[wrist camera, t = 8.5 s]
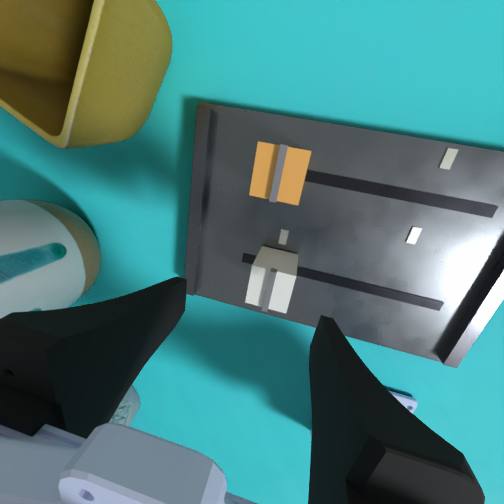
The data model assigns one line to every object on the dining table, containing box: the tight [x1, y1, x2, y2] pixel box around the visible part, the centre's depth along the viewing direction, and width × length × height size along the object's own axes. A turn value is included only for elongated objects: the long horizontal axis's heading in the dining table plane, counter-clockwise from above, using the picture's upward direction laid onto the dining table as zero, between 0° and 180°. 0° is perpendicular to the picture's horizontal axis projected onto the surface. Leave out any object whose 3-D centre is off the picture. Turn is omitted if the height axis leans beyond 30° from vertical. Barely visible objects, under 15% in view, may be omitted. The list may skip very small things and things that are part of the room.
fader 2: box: [245, 246, 298, 313], centre depth 18 cm, size 3×3×4 cm
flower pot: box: [0, 0, 172, 149], centre depth 15 cm, size 9×9×9 cm
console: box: [184, 102, 504, 368], centre depth 19 cm, size 16×24×2 cm, turn 80°
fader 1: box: [249, 141, 311, 205], centre depth 16 cm, size 3×3×4 cm
